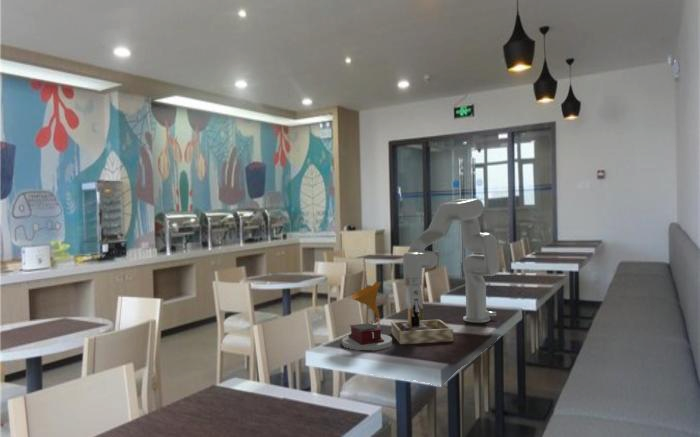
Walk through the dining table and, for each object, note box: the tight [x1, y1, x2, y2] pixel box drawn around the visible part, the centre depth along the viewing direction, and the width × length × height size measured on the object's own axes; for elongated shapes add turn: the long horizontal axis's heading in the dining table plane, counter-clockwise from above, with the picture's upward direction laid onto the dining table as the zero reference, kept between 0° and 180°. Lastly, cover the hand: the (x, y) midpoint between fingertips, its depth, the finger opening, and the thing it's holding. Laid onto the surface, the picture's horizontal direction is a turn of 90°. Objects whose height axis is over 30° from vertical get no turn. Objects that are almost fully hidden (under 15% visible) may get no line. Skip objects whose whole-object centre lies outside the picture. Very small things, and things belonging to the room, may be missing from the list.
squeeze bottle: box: [406, 301, 425, 321], centre depth 232 cm, size 8×8×18 cm
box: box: [390, 319, 454, 345], centre depth 207 cm, size 22×18×5 cm
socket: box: [401, 322, 427, 331], centre depth 206 cm, size 9×9×4 cm
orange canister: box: [407, 306, 420, 327], centre depth 206 cm, size 4×4×11 cm
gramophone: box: [341, 281, 393, 351], centre depth 199 cm, size 20×20×25 cm
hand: (414, 324), depth 206 cm, fingers closed on orange canister, 4 cm apart
